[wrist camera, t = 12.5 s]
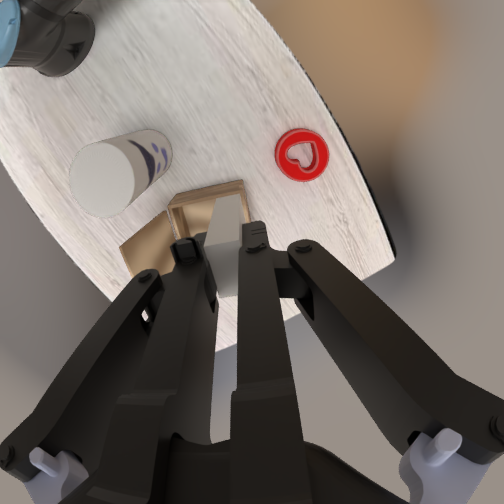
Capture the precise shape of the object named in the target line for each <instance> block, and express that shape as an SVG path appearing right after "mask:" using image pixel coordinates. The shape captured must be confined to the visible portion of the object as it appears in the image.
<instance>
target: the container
mask: <svg viewBox="0 0 504 504" xmlns="http://www.w3.org/2000/svg"><path fill="white" fill-rule="evenodd" d="M171 160H172V149H171V146H170V143H169V141H168V140H167V138H166V137H165V136H164V135H163V134H161V133H160V132H158V131H155V130H149V129H147V130H141V131H137V132H133V133H129V134H125V135H121V136H117V137H113V138H110V139H106V140H102V141H99V142H96V143H92V144H90V145H87V146H86V147H84V148H83V149H81V150H80V151H79V152H78V154H77V155H76V156H75V158H74V160H73V162H72V164H71V167H70V172H69V185H70V190H71V193H72V195H73V198H74V199H75V201H76V203H77V204H78V205H79V207H80V208H81V209H82V210H84V211H85V212H86V213H88V214H90V215H92V216H94V217H98V218H110V217H114V216H116V215H118V214H120V213H121V212H122V211H123V210H124V209H125V208H127V207H128V206H129V205H130V204H131V203H132V202H133V201H134V200H135V199H136V198H137V197H138V196H139V195H140V194H142V193H143V192H144V191H145V190H146V189H147V188H148V187H149V186H150V185H152V184H153V183H154V182H155V181H156V180H157V179H158V178H160V177H161V176H162V175H163V174H164V173H165V172H166V171H167V170H168V168H169V166H170V164H171Z"/></svg>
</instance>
